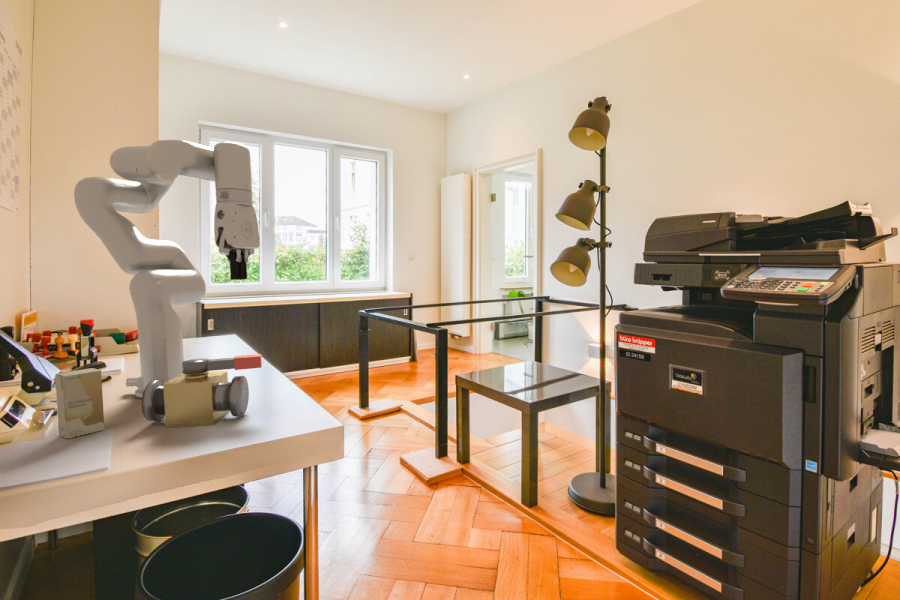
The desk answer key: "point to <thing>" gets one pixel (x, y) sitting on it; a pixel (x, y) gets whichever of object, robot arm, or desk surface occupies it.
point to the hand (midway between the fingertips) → (239, 279)
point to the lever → (221, 364)
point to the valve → (195, 399)
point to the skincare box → (79, 402)
